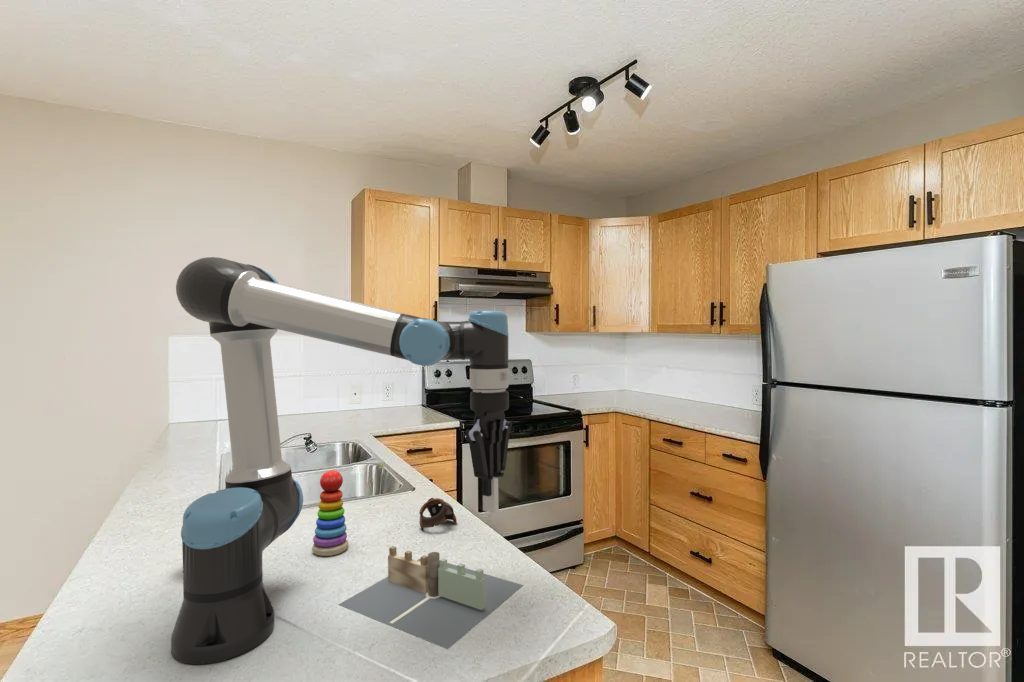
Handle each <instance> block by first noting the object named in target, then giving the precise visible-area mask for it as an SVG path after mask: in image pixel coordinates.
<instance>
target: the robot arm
mask: <svg viewBox="0 0 1024 682" xmlns="http://www.w3.org/2000/svg"><path fill="white" fill-rule="evenodd" d="M176 280H177V281H176V284H175V293H176V296H177V300H178V302H179V304H180V306H181V307H182V308H183V309H184V311H185V312H186V313H188V314H189V315H190V316H192V317H193V318H195V319H197V320H199V321H202V322H207V323H208V325H209V327H208V328H209V334H210V337H211V338H213V339H214V340H215V341H216V342H217V343H219V345H220V353H221V361H222V371H223V381H224V390H225V391H224V392H225V400H226V410H227V418H228V419H227V420H228V430H229V431H228V432H229V440H230V451H231V460H232V461H231V462H232V469H231V470H230V472H229V473H228V474H227V475H226V477H224V481H225V483H224V484H225V488H224V489H219V490H216V492H211V493H207V494H204V495H203V496H200V497H198V498H197V499H195V500H194V501H192V502H191V503H190V504H189V505H187V507H186V508H185V510H184V513H183V515H182V525H181V529H180V530H181V531H180V538H181V542H182V543H181V547H182V578H183V580H182V581H183V582H182V584H183V585H182V588H183V589H182V591H183V597H182V598H183V600H182V603H181V607H180V610H179V613H178V615H177V619H176V621H175V624H174V628H173V631H172V634H171V638H170V639H171V640H170V643H171V645H170V647H171V655H172V657H173V658H174V659H176V660H177V661H178V662H181V663H185V664H189V665H190V664H192V665H203V664H212V663H218V662H221V661H225V660H229V659H232V658H234V657H237V656H240V655H243V654H245V653H247V652H248V651H251V650H252V649H254V648H256V647H257V646H260V644H262V643H263V642H264V641H265V640H266V639H268V638H269V636H270V635H271V634H272V633H273V631H274V628H275V609H274V606H273V605H272V602H271V599H270V597H269V594H268V592H267V590H266V587H265V584H264V582H263V581H264V577H263V575H264V574H263V573H264V572H263V551H265V549H267V547H268V546H269V547H270V545H271V544H272V543H273V542H274V541H275V540H276V539H278V538H279V537H280V536H282V535H283V534H285V533H286V532H288V531H289V530H290V528H291V527H292V526H293V525H294V523H295V522H296V521H297V519H298V518H299V516H300V514H301V512H302V509H303V505H304V495H303V490H302V489H303V488H302V487H301V485H300V484H299V482H298V481H297V480H295V479H294V477H293V475H292V473H293V472H292V466H291V465H290V464H289V463H287V462H286V461H284V460H283V458H282V456H283V455H282V447H281V439H280V436H281V435H280V426H279V418H278V417H279V416H278V407H277V399H276V398H277V397H276V389H275V386H276V385H275V377H274V369H273V359H272V358H273V357H272V347H271V339H272V338H273V337H274V336H275V334H277V332H278V330H280V331H282V332H283V331H285V332H288V333H292V334H297V335H301V336H306V337H309V338H313V339H318V340H322V341H326V342H330V343H334V344H340V345H344V346H347V347H353V348H356V349H360V350H365V351H370V352H374V353H377V354H382V355H387V356H390V357H394V358H398V359H401V360H405V361H409V362H411V363H412V364H414V365H417V366H424V367H428V366H433V365H435V364H437V363H439V362H441V361H457V360H458V361H459V360H461V361H465V360H469V388H470V389H471V390H472V391H471V392H470V393H469V394H470V395H469V398H470V399H469V403H470V407H469V408H470V410H471V411H472V412H474V419H473V427H472V428H471V429H467V430H465V437H466V438H467V441H468V445H469V451H470V455H471V457H470V458H471V462H472V468H473V469H472V470H473V476H474V477H476V478H479V479H481V494H482V511H483V512H488V513H493V514H495V513H497V512H499V509H500V508H499V505H500V504H499V491H500V489H499V488H500V487H499V484H500V483H499V481H500V480H499V477H501V478H503V477H504V475H505V473H504V471H505V470H506V468H507V459H508V457H507V456H508V449H509V440H510V432H511V431H512V426H513V422H512V421H509V420H506V414H505V411H508V410H509V408H510V400H509V399H510V396H509V395H510V394H509V392H508V390H506V389H508V388H509V377H510V375H509V324H508V315H507V314H506V313H505V312H504V311H502V310H473V311H470V312H469V317H468V320H464V321H437V320H434V319H430V318H426V317H425V318H424V317H419V316H415V315H413V314H412V315H411V314H408V313H407V314H405V313H402V312H400V311H399V312H398V311H395V310H390V309H387V308H382V307H378V306H373V305H369V304H365V303H363V302H362V303H360V302H357V301H353V300H348V299H345V298H340V297H337V296H332V295H328V294H323V293H320V292H315V291H312V290H307V289H303V288H299V287H296V286H294V287H293V286H291V285H286V284H282V283H279V282H278V280H277V279H276V278H275V277H274V276H273V275H272V274H271V273H269V272H268V271H266V270H263V268H261V267H258V266H256V265H253V264H249V263H246V264H245V263H242V262H238V261H234V260H230V259H227V258H222V257H219V256H217V257H216V256H212V257H211V256H210V257H209V256H208V257H201V258H198V259H195V260H193V261H192V262H190V263H188V264H187V265H186V266H185V267H184V268H183V269H182V270H181V272H180V273H179V274H178V277H177V279H176Z"/></svg>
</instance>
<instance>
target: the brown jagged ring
mask: <svg viewBox="0 0 1024 682" xmlns="http://www.w3.org/2000/svg"><path fill="white" fill-rule="evenodd" d="M426 510H427V511H428V512H429V515H430V516H424V512H425V511H426ZM454 512H455V511H454V508H453V506H452V505H451V504H450V503H449V502H447V501H445V500H444V499H442V498H439V497H435V498H434V497H430V498H429V499H427V501H425V503H424V504H422V506H420V508H419V513H418V514H419V526H420V529H421V530H422V529H423V530H424V528H425V529H426V528H433V527H434V526H435V527H436V526H439V525H440V524H443V523H447V521H449V520H450V521H452V522H454V524H457V525H458V522H457V516H456V514H455V513H454Z"/></svg>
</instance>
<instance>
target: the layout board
mask: <svg viewBox="0 0 1024 682" xmlns="http://www.w3.org/2000/svg"><path fill="white" fill-rule="evenodd" d="M416 561H419V562H421V557H420V558H418V559H417V560H416ZM447 567H448V568H451V569H454V570H457V564H452V563H449V562H447ZM465 573H468V574H471V575H475V576H476V570H473V569H469V568H467V567H465ZM483 578H485V608H484V609H482V610H480V609H477V608H474V607H471V606H468V605H465V604H462V603H459V602H456V601H453V600H450V599H447V598H444V597H441V596H439V595H438V596H436V597H430V596H429V595H428V592H427V593H426V594H425V593H422V592H419V591H416V590H413V589H411V588H408V587H405V586H402V585H399V584H396V583H393V582H390V581H388V576H386V577H384V578H383V579H381V580H380V581H378V582H376V583H374V584H372V585H371V586H368V587H366V588H365V589H363V590H361V591H360V592H358V593H356V594H354V595H353V596H351V597H349V598H347V599H345V600H344V601H342V602H340V603H338V604H337V605H338V606H340V607H343V608H345V609H347V610H350V611H353V612H354V613H357V614H360V615H363V616H365V617H367V618H370V619H373V620H375V621H377V622H380V623H381V624H384V625H387V626H389V627H391V628H394V629H396V630H399V631H402V632H405V633H406V634H409V635H412V636H415V637H416V638H419V639H421V640H424V641H427V642H429V643H432V644H434V645H436V646H439V647H441V648H444V649H446V650H449V649H450V648H451V647H452V646H453V645H455V644H456V643H457V642H458V641H459V640H460V639H462V638H463V637H465V635H466V634H468V633H470V631H471V630H472V629H473V628H475V627H476V626H478V625H479V623H481V622H483V620H484V619H486V618H487V617H488V616H489V615H490V614H492V613H493V612H494V611H495V610H496V609H498V608H499V607H500V606H501V605H502V604H504V602H506V601H507V600H508V599H509V598H511V597H512V596H513V595H514V594H516V592H518V591H519V590H521V588H522V587H523V586H524V585H523V584H521V583H517V582H514V581H510V580H507V579H504V578H500V577H498V576H493V575H490V574H486V573H484V572H483Z"/></svg>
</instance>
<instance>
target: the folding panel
mask: <svg viewBox="0 0 1024 682" xmlns="http://www.w3.org/2000/svg"><path fill="white" fill-rule="evenodd" d="M447 563H448V559H447V558H441V559H440V568H438V595H439V596H441V597H444V598H447V599H450V600H453V601H456V602H459V603H462V604H465V605H468V606H471V607H474V608H477V609H480V610H482V609H484V608H485V578H483V573H484V569H482V568H478V569H476V570H475V571H476V576H475V575H471V574H468V573H465V568H466V564H465V563H458V564H456V566H457V570H454V569H451V568H448V567H447Z"/></svg>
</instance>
